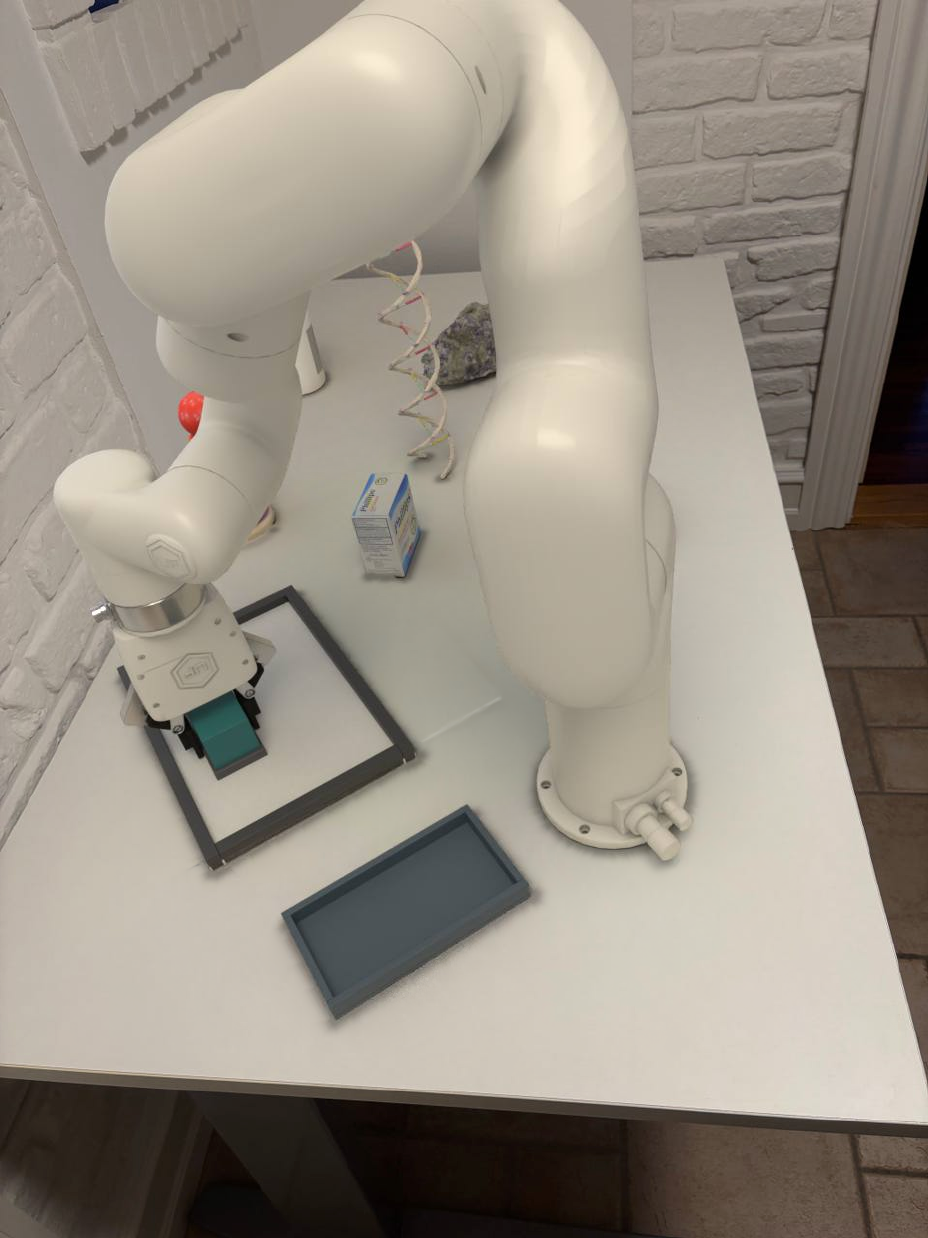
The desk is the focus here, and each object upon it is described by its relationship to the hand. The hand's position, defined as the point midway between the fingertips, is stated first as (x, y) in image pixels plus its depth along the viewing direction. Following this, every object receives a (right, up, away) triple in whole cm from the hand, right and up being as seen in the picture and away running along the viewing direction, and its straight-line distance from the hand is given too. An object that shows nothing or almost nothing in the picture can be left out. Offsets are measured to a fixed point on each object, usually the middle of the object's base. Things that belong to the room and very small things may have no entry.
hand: (224, 732), depth 91 cm
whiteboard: (+3, +1, +2) cm, 4 cm away
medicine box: (+15, +18, +18) cm, 29 cm away
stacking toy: (-4, +22, +26) cm, 34 cm away
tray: (+18, -12, -15) cm, 27 cm away
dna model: (+19, +30, +29) cm, 46 cm away
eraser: (0, 0, 0) cm, 0 cm away
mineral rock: (+24, +46, +45) cm, 69 cm away
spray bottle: (-1, +45, +49) cm, 67 cm away
